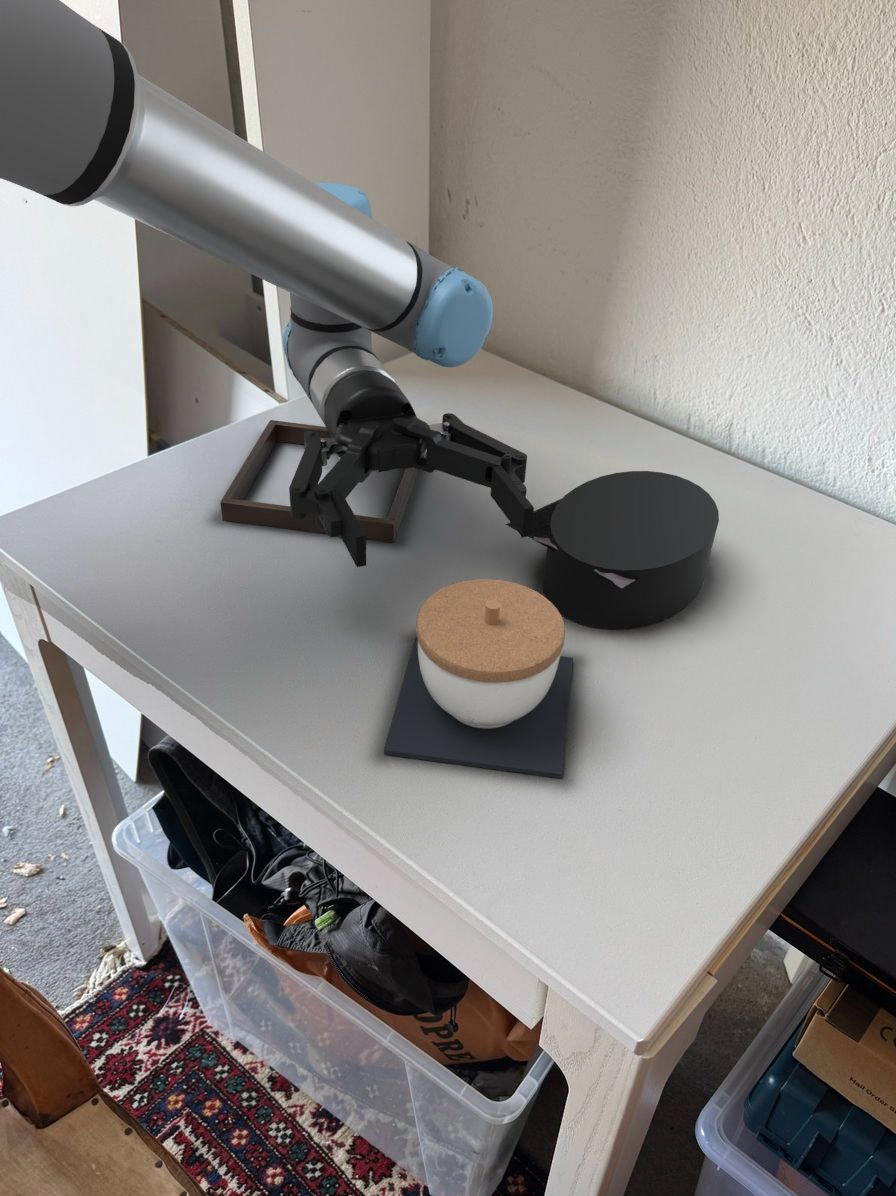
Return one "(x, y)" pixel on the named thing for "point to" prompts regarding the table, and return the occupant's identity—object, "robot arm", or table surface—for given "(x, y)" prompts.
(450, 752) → the mat
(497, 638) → the trinket box
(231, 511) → the dark wooden square frame
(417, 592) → the table surface
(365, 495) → the table surface
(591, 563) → the tape dispenser
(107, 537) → the table surface
